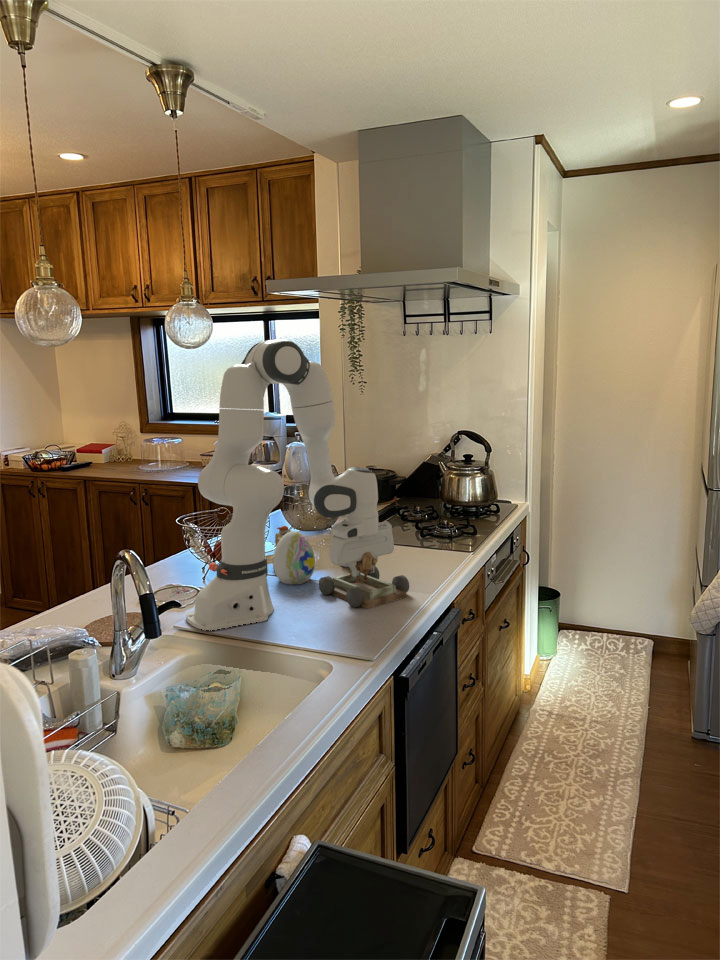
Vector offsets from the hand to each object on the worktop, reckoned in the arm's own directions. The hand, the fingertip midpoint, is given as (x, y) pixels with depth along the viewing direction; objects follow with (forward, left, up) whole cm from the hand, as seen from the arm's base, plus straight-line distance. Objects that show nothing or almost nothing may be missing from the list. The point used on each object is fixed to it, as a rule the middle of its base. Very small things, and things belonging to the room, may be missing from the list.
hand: (363, 574), depth 200 cm
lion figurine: (+1, +3, -2) cm, 4 cm away
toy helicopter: (-2, +39, -6) cm, 39 cm away
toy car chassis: (0, 0, -6) cm, 6 cm away
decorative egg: (-8, +23, -6) cm, 25 cm away
